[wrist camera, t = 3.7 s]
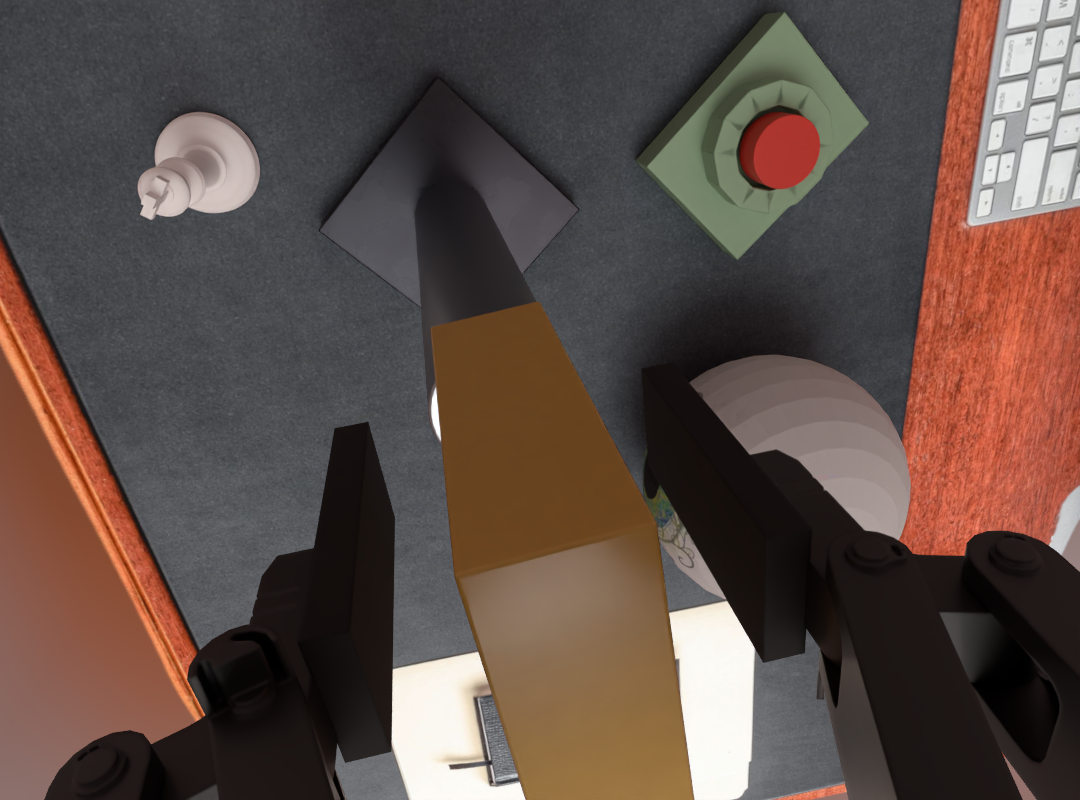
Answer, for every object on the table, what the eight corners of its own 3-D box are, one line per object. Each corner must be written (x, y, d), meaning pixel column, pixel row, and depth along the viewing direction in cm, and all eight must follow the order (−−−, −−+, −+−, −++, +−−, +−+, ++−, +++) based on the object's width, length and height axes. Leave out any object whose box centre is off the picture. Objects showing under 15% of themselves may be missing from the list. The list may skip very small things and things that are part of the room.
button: (776, 95, 36) (793, 98, 35) (816, 145, 38) (833, 149, 36) (725, 151, 37) (739, 156, 36) (766, 197, 39) (781, 203, 37)
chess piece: (276, 146, 37) (236, 179, 28) (237, 229, 38) (188, 285, 29) (178, 91, 35) (104, 108, 26) (142, 180, 36) (59, 224, 28)
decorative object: (663, 293, 44) (775, 400, 31) (859, 348, 48) (1031, 462, 35) (583, 492, 50) (649, 655, 37) (765, 526, 54) (883, 682, 41)
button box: (765, 13, 38) (802, 10, 35) (847, 119, 41) (889, 126, 38) (634, 160, 40) (657, 172, 37) (722, 250, 44) (750, 268, 40)
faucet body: (436, 75, 37) (484, 120, 16) (574, 203, 41) (759, 377, 20) (320, 224, 39) (224, 440, 18) (462, 332, 43) (520, 611, 22)
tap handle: (426, 296, 17) (453, 575, 8) (525, 273, 17) (657, 522, 8) (544, 724, 24) (626, 1117, 15) (612, 705, 24) (733, 1084, 15)
